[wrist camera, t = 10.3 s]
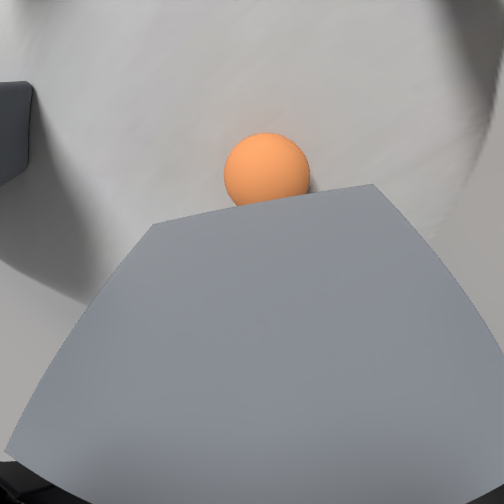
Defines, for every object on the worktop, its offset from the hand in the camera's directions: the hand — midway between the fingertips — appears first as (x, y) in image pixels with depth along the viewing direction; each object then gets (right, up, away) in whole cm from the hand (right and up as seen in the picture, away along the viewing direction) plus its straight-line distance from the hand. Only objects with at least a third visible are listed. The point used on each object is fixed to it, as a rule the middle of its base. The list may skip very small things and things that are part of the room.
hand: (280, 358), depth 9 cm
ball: (0, +8, +8) cm, 11 cm away
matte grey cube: (0, +2, +2) cm, 3 cm away
